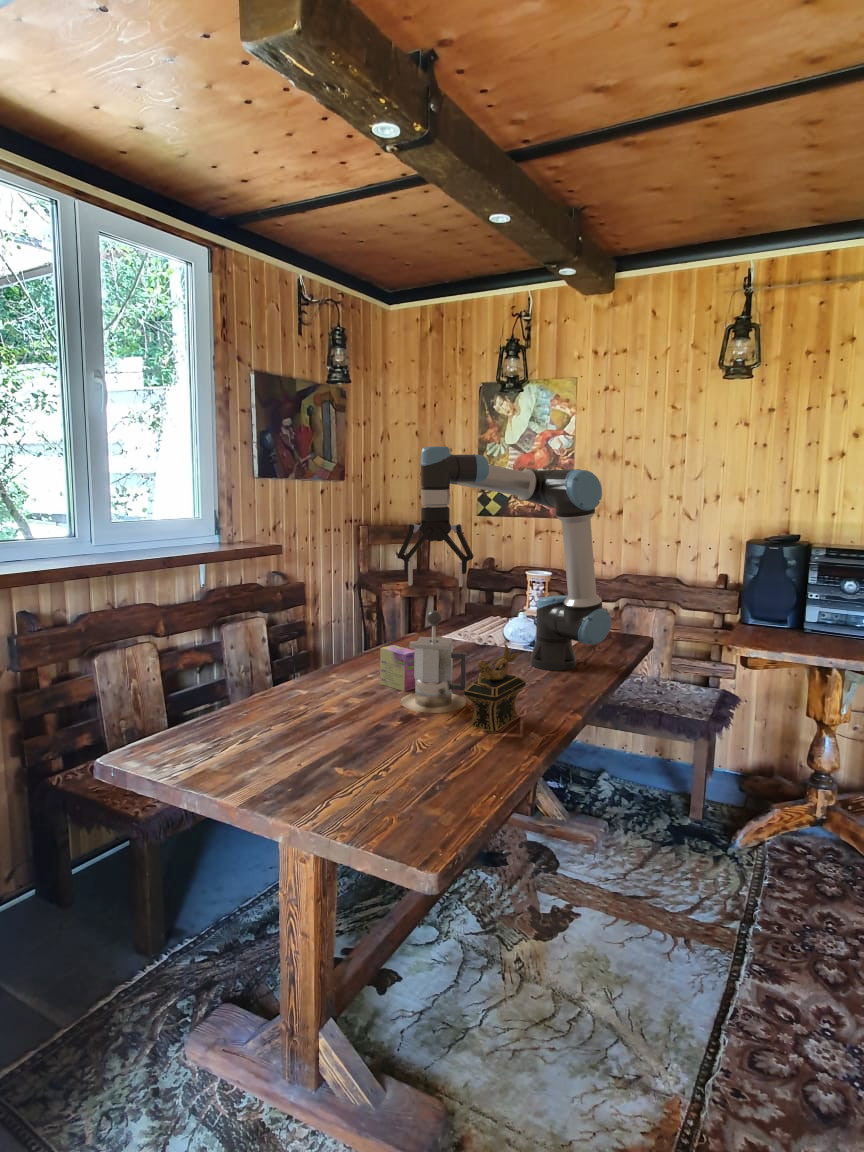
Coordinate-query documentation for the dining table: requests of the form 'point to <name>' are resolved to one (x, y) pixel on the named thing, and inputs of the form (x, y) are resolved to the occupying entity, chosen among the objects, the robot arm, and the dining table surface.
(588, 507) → the robot arm
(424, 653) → the carafe
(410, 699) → the beige plate
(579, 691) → the dining table surface
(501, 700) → the decorative box
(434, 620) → the plunger
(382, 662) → the box
